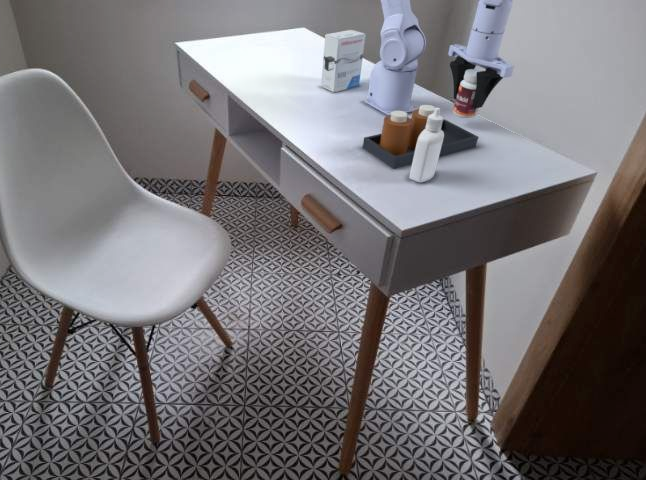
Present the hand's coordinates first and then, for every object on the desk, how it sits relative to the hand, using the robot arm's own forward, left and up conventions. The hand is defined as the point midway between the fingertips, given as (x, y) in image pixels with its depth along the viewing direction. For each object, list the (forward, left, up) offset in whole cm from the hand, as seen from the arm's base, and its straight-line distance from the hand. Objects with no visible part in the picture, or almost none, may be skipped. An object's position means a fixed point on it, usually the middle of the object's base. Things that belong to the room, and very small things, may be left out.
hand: (467, 102), depth 103 cm
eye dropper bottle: (+13, -22, -5) cm, 26 cm away
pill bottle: (0, 0, -3) cm, 3 cm away
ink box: (-30, -10, -5) cm, 32 cm away
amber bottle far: (+4, -22, -4) cm, 22 cm away
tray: (+4, -15, -5) cm, 16 cm away
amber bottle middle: (+4, -15, -4) cm, 16 cm away
